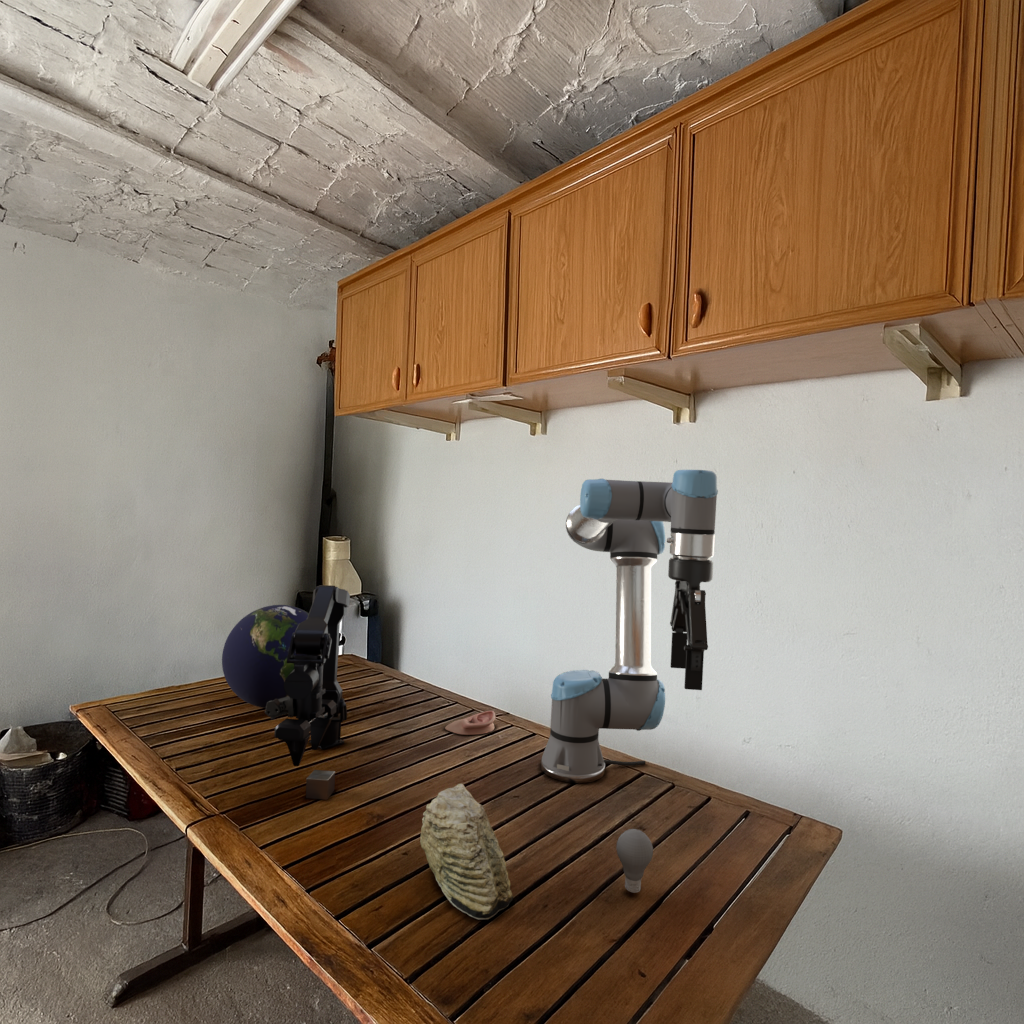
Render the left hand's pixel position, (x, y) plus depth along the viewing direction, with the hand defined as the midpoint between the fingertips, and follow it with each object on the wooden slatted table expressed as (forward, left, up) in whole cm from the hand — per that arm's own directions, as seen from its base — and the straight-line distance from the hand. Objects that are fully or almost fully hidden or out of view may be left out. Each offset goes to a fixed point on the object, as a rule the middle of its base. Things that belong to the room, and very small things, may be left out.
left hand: (305, 757), depth 137 cm
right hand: (-31, +72, +28) cm, 83 cm away
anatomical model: (-52, -1, -7) cm, 52 cm away
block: (-1, +5, -7) cm, 8 cm away
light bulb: (-20, +70, -7) cm, 73 cm away
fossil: (0, +50, -7) cm, 50 cm away
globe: (-21, -53, -7) cm, 57 cm away
